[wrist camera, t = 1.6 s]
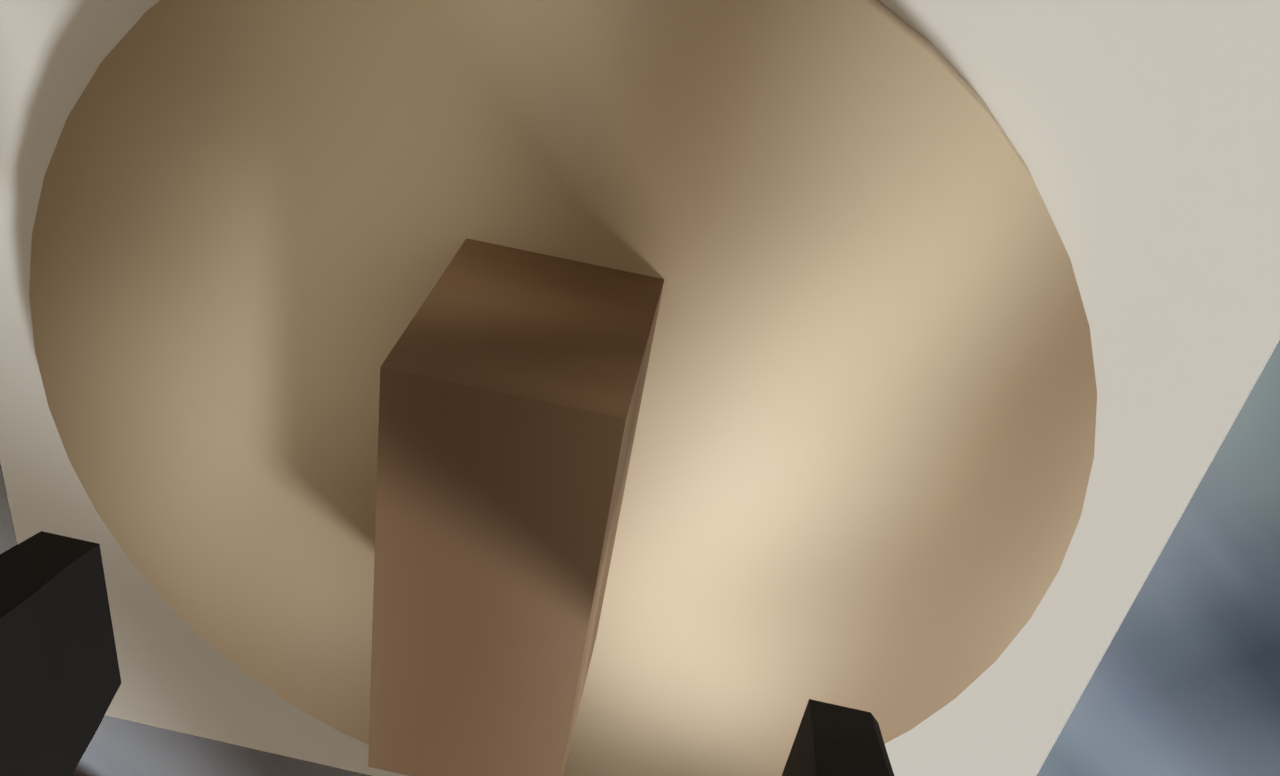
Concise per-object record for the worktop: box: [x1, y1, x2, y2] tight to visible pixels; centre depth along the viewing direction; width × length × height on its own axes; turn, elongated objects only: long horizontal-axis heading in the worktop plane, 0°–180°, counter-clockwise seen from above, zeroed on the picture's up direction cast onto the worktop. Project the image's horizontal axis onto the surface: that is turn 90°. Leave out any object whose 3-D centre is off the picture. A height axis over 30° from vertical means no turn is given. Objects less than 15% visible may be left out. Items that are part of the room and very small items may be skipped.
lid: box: [29, 0, 1097, 776], centre depth 14 cm, size 14×14×4 cm
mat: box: [0, 0, 1280, 776], centre depth 15 cm, size 17×17×1 cm
